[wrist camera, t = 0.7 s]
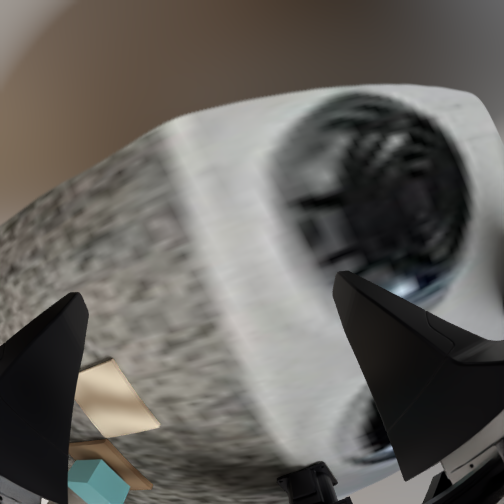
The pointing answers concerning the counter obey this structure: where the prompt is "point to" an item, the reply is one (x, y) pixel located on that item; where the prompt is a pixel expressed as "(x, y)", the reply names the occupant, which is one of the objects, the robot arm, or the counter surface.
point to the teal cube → (97, 482)
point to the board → (112, 401)
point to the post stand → (110, 461)
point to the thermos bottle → (72, 498)
